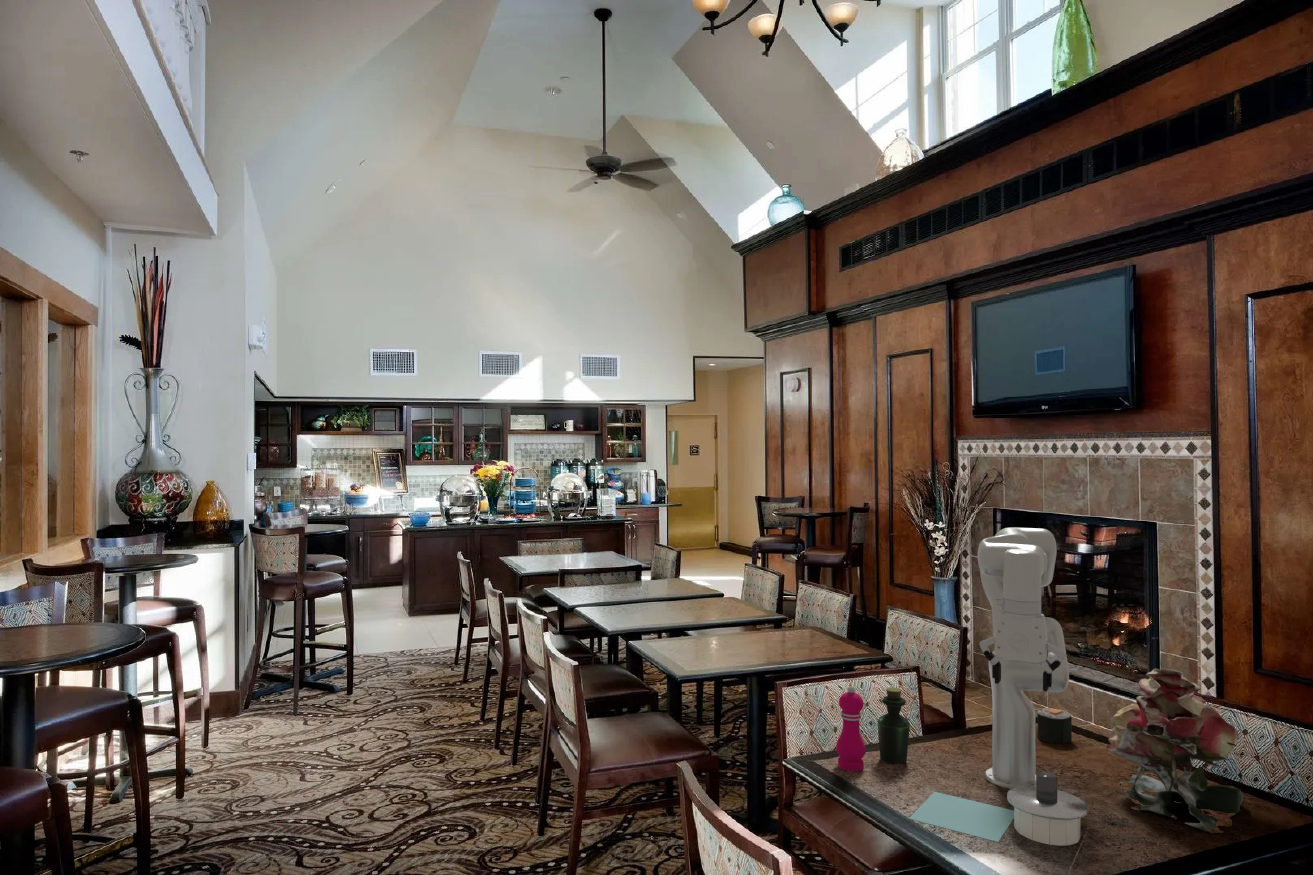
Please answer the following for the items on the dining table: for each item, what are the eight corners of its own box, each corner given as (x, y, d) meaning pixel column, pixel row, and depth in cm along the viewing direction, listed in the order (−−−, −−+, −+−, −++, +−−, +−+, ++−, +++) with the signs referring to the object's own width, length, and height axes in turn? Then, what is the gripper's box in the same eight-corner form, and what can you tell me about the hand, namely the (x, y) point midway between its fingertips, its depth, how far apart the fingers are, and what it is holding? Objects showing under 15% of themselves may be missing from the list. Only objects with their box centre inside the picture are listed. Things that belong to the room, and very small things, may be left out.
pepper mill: (866, 773, 203) (866, 691, 204) (836, 770, 205) (836, 688, 205) (864, 762, 210) (865, 683, 211) (835, 760, 212) (836, 681, 212)
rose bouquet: (1247, 798, 191) (1246, 667, 192) (1228, 840, 169) (1228, 692, 170) (1122, 769, 208) (1122, 649, 209) (1090, 804, 186) (1090, 670, 187)
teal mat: (934, 793, 191) (934, 791, 192) (1018, 813, 181) (1018, 811, 181) (908, 820, 177) (908, 818, 177) (998, 843, 166) (998, 841, 166)
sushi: (1076, 741, 230) (1076, 711, 230) (1058, 745, 225) (1058, 716, 226) (1050, 732, 236) (1050, 704, 237) (1031, 737, 232) (1031, 708, 233)
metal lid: (1015, 784, 182) (1015, 757, 182) (1092, 801, 173) (1092, 773, 173) (999, 806, 170) (999, 778, 170) (1081, 826, 161) (1081, 796, 161)
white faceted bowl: (1022, 816, 180) (1022, 788, 180) (1083, 831, 173) (1083, 801, 173) (1009, 836, 170) (1009, 806, 170) (1074, 852, 163) (1074, 821, 163)
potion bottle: (913, 758, 214) (913, 688, 214) (906, 768, 207) (906, 695, 207) (881, 752, 218) (881, 683, 218) (873, 762, 211) (873, 690, 211)
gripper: (976, 605, 181) (975, 683, 181) (1063, 615, 172) (1063, 697, 172) (983, 599, 187) (983, 674, 188) (1068, 608, 178) (1068, 688, 178)
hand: (1021, 685), depth 180 cm, fingers open, 9 cm apart
